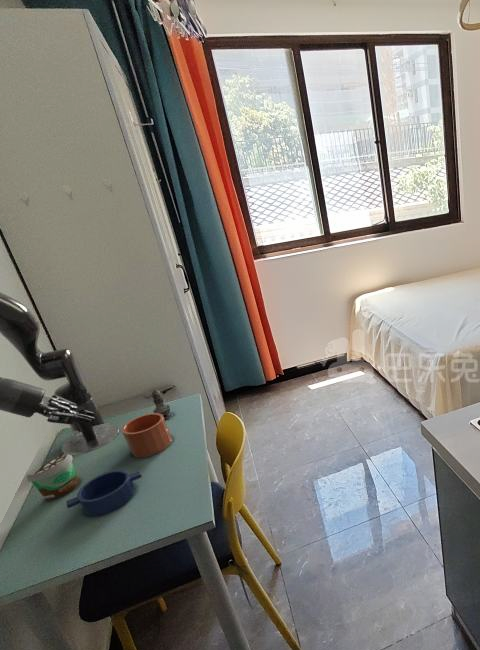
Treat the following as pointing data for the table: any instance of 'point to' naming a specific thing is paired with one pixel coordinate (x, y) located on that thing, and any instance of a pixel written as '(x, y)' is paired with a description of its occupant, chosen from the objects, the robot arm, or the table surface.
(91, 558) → the table surface
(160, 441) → the pot
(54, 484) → the food container
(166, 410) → the grey upright piece
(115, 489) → the pan
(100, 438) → the lid
